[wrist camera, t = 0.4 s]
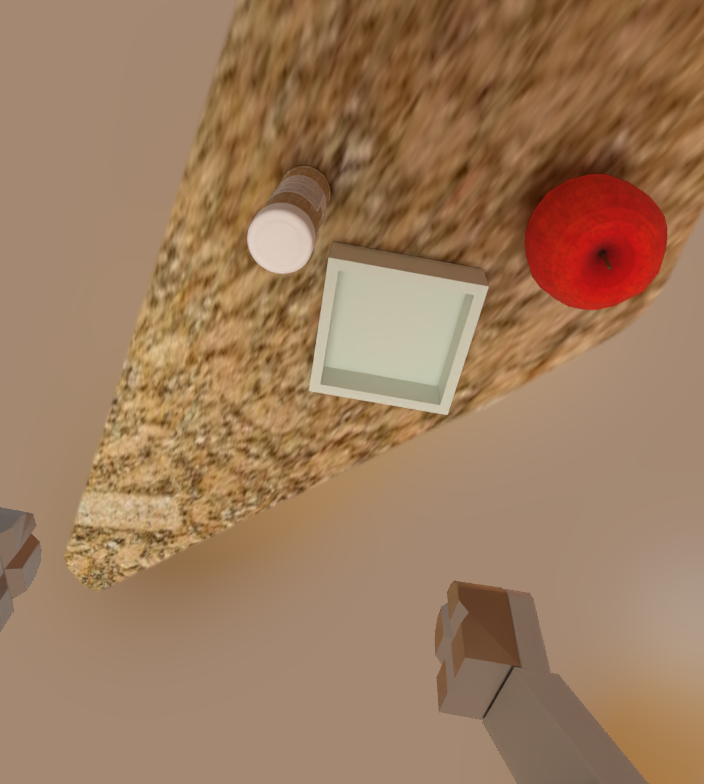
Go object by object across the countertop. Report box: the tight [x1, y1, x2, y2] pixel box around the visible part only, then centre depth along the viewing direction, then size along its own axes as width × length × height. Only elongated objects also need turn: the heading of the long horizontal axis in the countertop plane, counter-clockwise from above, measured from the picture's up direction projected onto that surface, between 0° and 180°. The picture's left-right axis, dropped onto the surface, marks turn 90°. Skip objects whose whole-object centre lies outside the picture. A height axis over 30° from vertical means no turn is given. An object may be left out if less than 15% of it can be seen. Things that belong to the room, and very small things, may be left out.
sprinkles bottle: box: [247, 165, 331, 274], centre depth 44 cm, size 5×5×13 cm
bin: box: [309, 242, 489, 415], centre depth 55 cm, size 14×14×4 cm
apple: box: [525, 174, 667, 310], centre depth 45 cm, size 10×10×12 cm
